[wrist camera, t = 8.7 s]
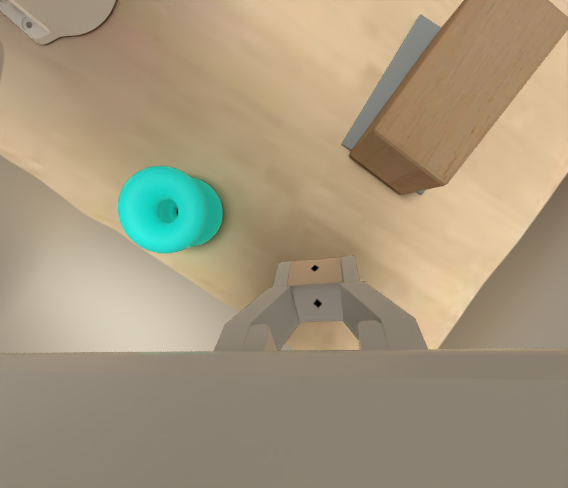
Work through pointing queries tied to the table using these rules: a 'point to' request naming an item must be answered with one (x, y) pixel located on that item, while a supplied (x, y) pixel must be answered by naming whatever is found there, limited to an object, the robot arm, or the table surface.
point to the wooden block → (458, 91)
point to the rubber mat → (393, 77)
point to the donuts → (168, 210)
